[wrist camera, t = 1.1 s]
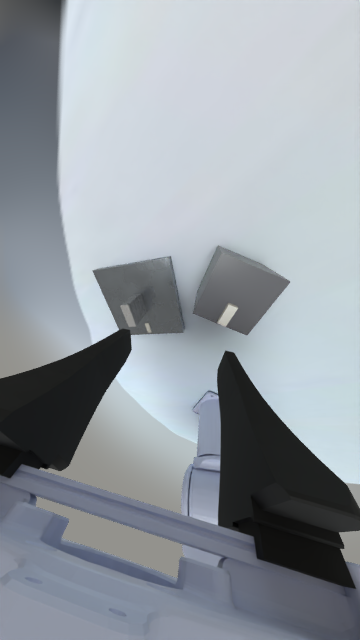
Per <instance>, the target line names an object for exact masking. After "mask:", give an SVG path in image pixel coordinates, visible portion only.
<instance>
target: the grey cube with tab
mask: <svg viewBox="0 0 360 640" xmlns="http://www.w3.org/2000/svg"><path fill="white" fill-rule="evenodd" d="M289 283H290V281H289V280H287V279H285V278H284V277H282V276H281V275H279V274H277V273H276V272H274V271H273V270H271V269H269V268H268V267H266V266H265V265H262V264H260V263H258V262H255V261H253V260H251V259H248V258H246V257H244V256H241V255H239V254H237V253H234V252H232V251H230V250H227V249H225V248H223V247H220V246H218V247H217V249H216V251H215V254H214V256H213V258H212V260H211V262H210V265H209V267H208V269H207V271H206V273H205V276H204V278H203V280H202V282H201V284H200V287H199V289H198V291H197V296H196V301H195V305H194V310H193V314H196V315H198V316H201V317H203V318H206V319H208V320H210V321H213V322H215V323H217V324H220V325H222V326H225V327H228V328H230V329H232V330H235V331H237V332H240V333H242V334H245V335H248V334H249V332H250V331H251V330H252V329H253V327H254V326H255V325H256V324H257V323H258V321H259V320H260V319H261V318H262V316H263V315H264V314H265V313H266V311H267V310H268V309H269V308H270V307H271V305H272V304H273V303H274V302H275V300H276V299H277V298H278V297H279V295H280V294H281V293H282V292H283V290H284V289H285V288H286V287H287V286H288V284H289Z"/></svg>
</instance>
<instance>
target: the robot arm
mask: <svg viewBox="0 0 360 640" xmlns="http://www.w3.org/2000/svg"><path fill="white" fill-rule="evenodd" d="M131 350H132V349H131V333H130V330H128V329H123V328H122V329H121V330H119V331H117V332H115V333H113V334H112V335H110V336H108V337H106V338H105V339H103V340H101V341H99V342H97V343H95V344H93V345H91V346H90V347H87V348H85V349H83V350H82V351H79V352H77V353H75V354H73V355H70V356H68V357H66V358H64V359H61V360H58V361H56V362H53V363H50V364H47V365H44V366H42V367H39V368H36V369H33V370H29V371H26V372H23V373H19V374H16V375H13V376H9V377H5V378H1V379H0V640H360V565H358V564H355V563H349V562H345V560H344V558H343V555H342V553H341V550H340V549H344V544H343V542H342V539H341V537H340V535H339V532H348V531H359V530H360V508H359V507H358V505H357V503H356V501H355V499H354V497H353V496H352V493H351V492H350V490H349V488H348V486H347V485H346V484H345V483H344V482H343V481H342V480H341V479H340V478H339V477H337V476H336V475H335V474H334V473H333V472H332V471H331V470H330V469H329V468H328V467H327V466H326V465H325V464H324V463H322V462H321V461H320V460H319V459H318V458H317V457H316V456H315V455H314V454H313V453H312V452H311V451H310V450H309V449H308V448H307V447H306V446H305V445H304V444H303V443H302V442H301V441H300V440H299V439H298V438H297V437H296V436H295V435H294V434H293V433H292V431H291V430H290V429H289V428H288V427H287V426H286V425H285V424H284V423H283V422H282V420H281V419H280V418H279V417H278V416H277V415H276V413H275V412H274V411H273V410H272V409H271V407H270V406H269V405H268V404H267V402H266V401H265V400H264V399H263V397H262V396H261V395H260V393H259V392H258V390H257V389H256V388H255V386H254V385H253V383H252V382H251V380H250V379H249V377H248V375H247V374H246V372H245V371H244V369H243V367H242V366H241V364H240V362H239V360H238V359H237V357H236V355H235V354H234V353H233V352H228V351H225V353H224V355H223V358H222V360H221V363H220V365H219V368H218V374H217V386H218V395H217V394H214V393H212V392H207V393H206V394H205V396H204V397H203V398H202V399H201V400H200V401H199V403H198V404H197V405H196V406H195V407H194V408H193V412H195V413H197V414H199V429H198V447H197V457H194V463H193V464H190V465H189V467H188V469H187V470H186V472H185V476H184V479H183V486H182V499H181V511H182V514H179V513H176V512H173V511H169V510H166V509H163V508H160V507H157V506H154V505H151V504H147V503H144V502H141V501H138V500H135V499H131V498H128V497H125V496H122V495H119V494H115V493H112V492H109V491H106V490H103V489H99V488H96V487H93V486H90V485H87V484H83V483H80V482H77V481H74V480H71V479H68V478H64V477H61V476H58V475H55V474H52V473H48V472H45V471H42V470H39V469H40V468H44V469H48V468H52V469H55V470H58V471H62V470H63V469H65V468H67V467H68V466H69V464H70V462H71V460H72V458H73V455H74V453H75V451H76V449H77V447H78V445H79V442H80V440H81V438H82V436H83V434H84V432H85V430H86V428H87V426H88V424H89V422H90V420H91V418H92V416H93V414H94V412H95V410H96V408H97V406H98V404H99V403H100V401H101V399H102V397H103V395H104V393H105V392H106V390H107V389H108V387H109V386H110V384H111V382H112V381H113V380H114V378H115V377H116V375H117V374H118V372H119V371H120V369H121V368H122V366H123V365H124V363H125V362H126V360H127V358H128V356H129V354H130V352H131ZM36 496H38V497H41V498H44V499H47V500H50V501H53V502H56V503H59V504H62V505H65V506H68V507H71V508H74V509H77V510H81V511H84V512H87V513H89V514H92V515H95V516H98V517H101V518H104V519H108V520H111V521H113V522H117V523H120V524H123V525H126V526H129V527H132V528H135V529H138V530H141V531H144V532H147V533H150V534H153V535H156V536H159V537H162V538H165V539H168V540H171V541H174V542H177V543H180V544H182V546H183V547H182V550H183V553H184V556H185V557H181V558H180V560H179V571H178V578H175V577H173V576H170V575H167V574H164V573H162V572H159V571H157V570H153V569H151V568H149V567H146V566H143V565H140V564H138V563H134V562H132V561H129V560H126V559H124V558H121V557H118V556H115V555H112V554H109V553H106V552H103V551H100V550H97V549H94V548H91V547H88V546H85V545H82V544H79V543H76V542H73V541H69V540H66V539H63V538H62V535H63V533H64V530H65V529H66V527H67V525H68V523H69V519H68V518H66V517H63V516H60V515H57V514H55V513H52V512H50V511H47V510H44V509H41V508H38V507H36V501H37V498H36Z"/></svg>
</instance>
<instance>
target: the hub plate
mask: <svg viewBox="0 0 360 640" xmlns="http://www.w3.org/2000/svg"><path fill="white" fill-rule="evenodd" d="M93 273H94V275H95V277H96V279H97V282H98V284H99V286H100V288H101V290H102V293H103V295H104V297H105V299H106V302H107V304H108V306H109V308H110V310H111V313H112V315H113V317H114V319H115V321H116V324H117V326H118V328H119V330H121V329H122V328H123V329H128V330H130V333H131V335H139V334H162V333H183V332H184V324H183V319H182V314H181V308H180V303H179V298H178V293H177V288H176V282H175V277H174V272H173V267H172V261H171V256H170V257H164V258H158V259H153V260H147V261H141V262H135V263H129V264H124V265H118V266H112V267H106V268H100V269H96V270H93Z"/></svg>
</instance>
